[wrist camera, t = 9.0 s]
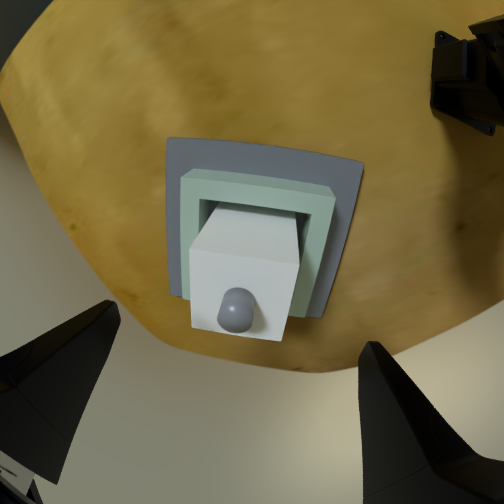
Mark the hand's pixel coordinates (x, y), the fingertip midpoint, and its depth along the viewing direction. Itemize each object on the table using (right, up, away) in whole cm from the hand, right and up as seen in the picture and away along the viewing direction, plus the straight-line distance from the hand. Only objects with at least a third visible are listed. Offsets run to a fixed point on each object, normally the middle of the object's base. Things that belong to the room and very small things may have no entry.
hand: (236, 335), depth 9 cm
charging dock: (+1, +4, +11) cm, 12 cm away
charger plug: (+1, +4, +11) cm, 11 cm away
